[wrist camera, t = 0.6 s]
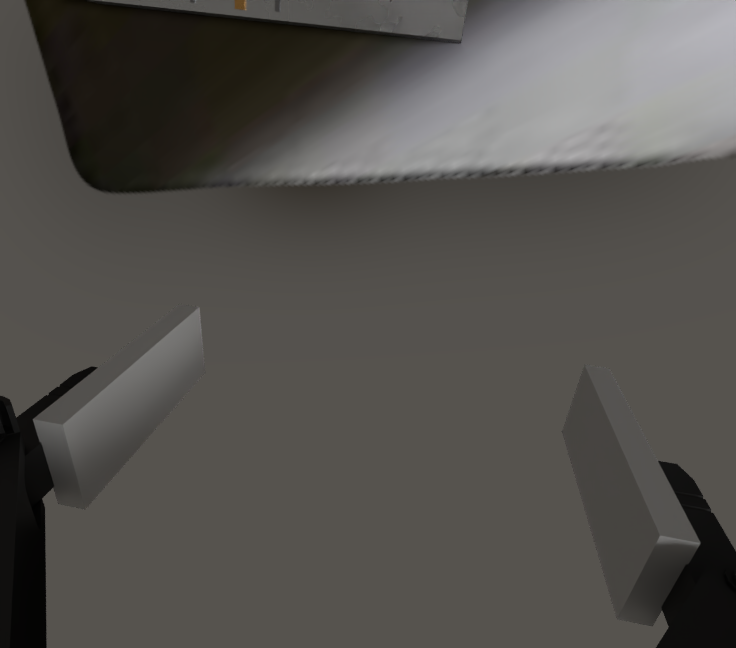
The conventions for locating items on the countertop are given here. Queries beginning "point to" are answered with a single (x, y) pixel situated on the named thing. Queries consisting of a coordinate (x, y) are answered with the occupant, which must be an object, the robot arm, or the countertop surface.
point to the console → (332, 14)
